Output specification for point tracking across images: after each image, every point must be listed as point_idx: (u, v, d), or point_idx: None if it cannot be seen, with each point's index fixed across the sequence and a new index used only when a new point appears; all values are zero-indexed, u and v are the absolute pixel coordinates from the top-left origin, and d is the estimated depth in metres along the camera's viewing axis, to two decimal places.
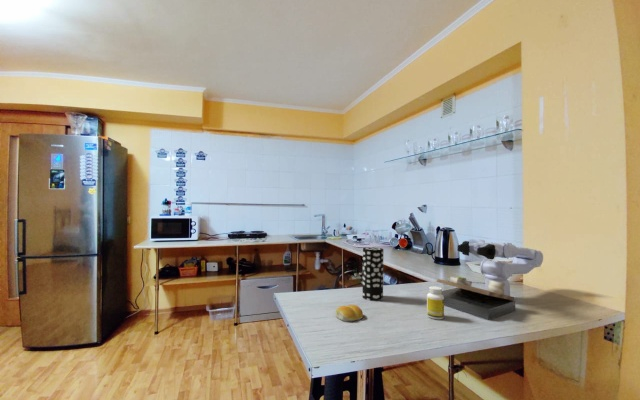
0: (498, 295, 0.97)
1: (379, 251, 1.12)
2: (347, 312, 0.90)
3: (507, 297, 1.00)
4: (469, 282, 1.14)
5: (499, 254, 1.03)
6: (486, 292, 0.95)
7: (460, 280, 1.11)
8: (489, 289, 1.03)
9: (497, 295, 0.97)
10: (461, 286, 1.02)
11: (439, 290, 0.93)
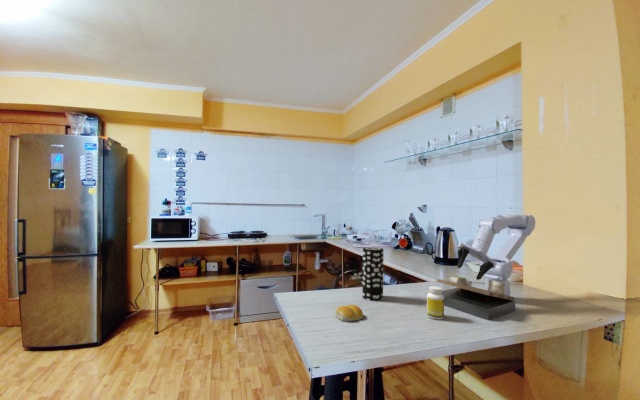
0: (498, 295, 0.97)
1: (379, 251, 1.12)
2: (347, 312, 0.90)
3: (507, 297, 1.00)
4: (469, 282, 1.14)
5: None
6: (486, 292, 0.95)
7: (460, 280, 1.11)
8: (489, 289, 1.03)
9: (497, 295, 0.97)
10: (461, 286, 1.02)
11: (439, 290, 0.93)
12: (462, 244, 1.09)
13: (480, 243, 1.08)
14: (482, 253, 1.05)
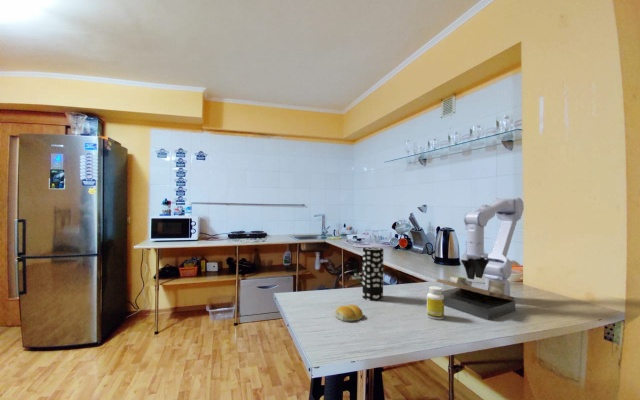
0: (498, 295, 0.97)
1: (379, 251, 1.12)
2: (347, 312, 0.90)
3: (507, 297, 1.00)
4: (469, 282, 1.14)
5: None
6: (486, 292, 0.95)
7: (460, 280, 1.11)
8: (489, 289, 1.03)
9: (497, 295, 0.97)
10: (461, 286, 1.02)
11: (439, 290, 0.93)
12: (467, 257, 1.03)
13: (479, 247, 1.05)
14: (483, 257, 1.05)
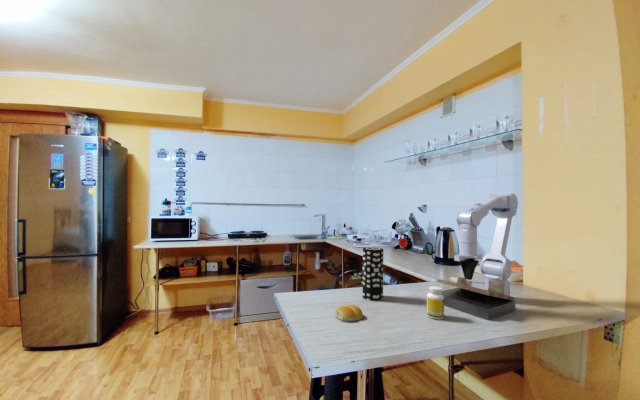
0: (498, 295, 0.97)
1: (379, 251, 1.12)
2: (347, 312, 0.90)
3: (507, 297, 1.00)
4: (469, 282, 1.14)
5: None
6: (486, 292, 0.95)
7: (460, 280, 1.11)
8: (489, 289, 1.03)
9: (497, 295, 0.97)
10: (461, 286, 1.02)
11: (439, 290, 0.93)
12: (460, 257, 1.01)
13: (472, 247, 1.03)
14: (477, 257, 1.03)
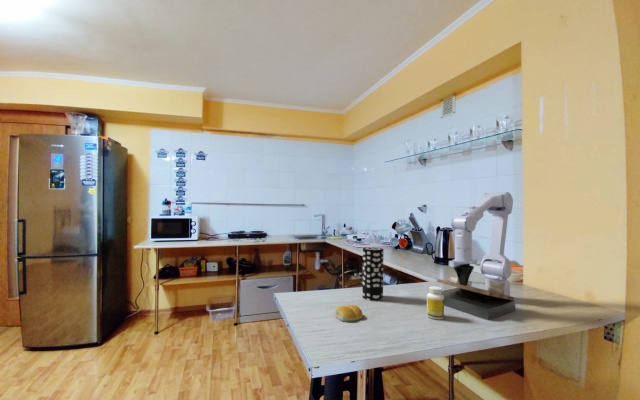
0: (498, 295, 0.97)
1: (379, 251, 1.12)
2: (346, 312, 0.90)
3: (507, 297, 1.00)
4: (469, 282, 1.14)
5: None
6: (486, 292, 0.95)
7: None
8: (489, 289, 1.03)
9: (497, 295, 0.97)
10: (461, 286, 1.02)
11: (439, 290, 0.93)
12: (455, 263, 0.99)
13: (467, 253, 1.01)
14: None
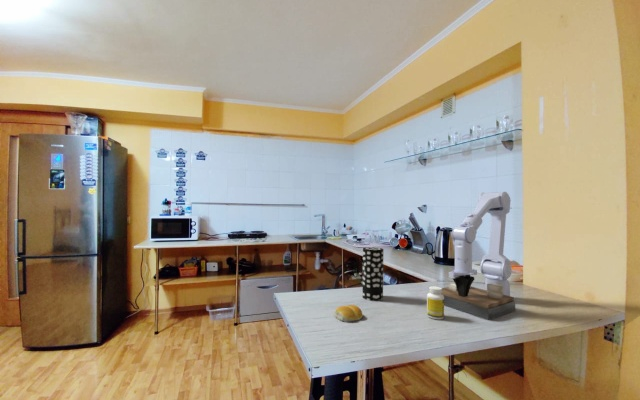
0: (497, 303, 0.97)
1: (379, 251, 1.12)
2: (346, 312, 0.90)
3: (507, 300, 1.00)
4: None
5: None
6: (485, 305, 0.94)
7: None
8: (488, 294, 1.03)
9: (496, 304, 0.96)
10: (460, 298, 1.02)
11: (439, 290, 0.93)
12: (454, 275, 0.99)
13: (467, 264, 1.01)
14: None
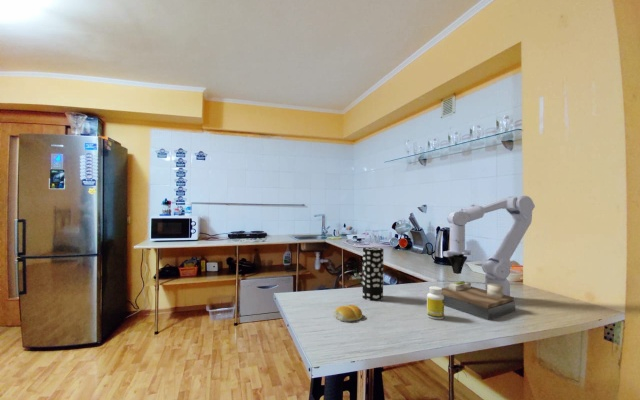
0: (497, 303, 0.97)
1: (379, 251, 1.12)
2: (346, 312, 0.90)
3: (507, 300, 1.00)
4: (468, 284, 1.13)
5: None
6: (485, 305, 0.94)
7: (459, 286, 1.10)
8: (488, 294, 1.03)
9: (496, 304, 0.96)
10: (460, 298, 1.02)
11: (439, 290, 0.93)
12: (448, 253, 1.12)
13: (460, 244, 1.13)
14: (464, 253, 1.13)
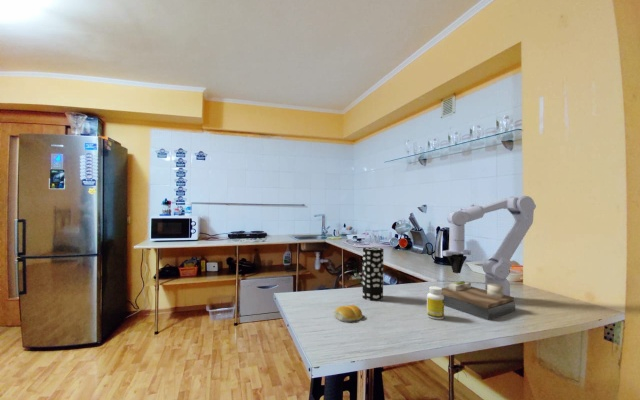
0: (497, 303, 0.97)
1: (379, 251, 1.12)
2: (346, 312, 0.90)
3: (507, 300, 1.00)
4: (468, 284, 1.13)
5: None
6: (485, 305, 0.94)
7: (459, 286, 1.10)
8: (488, 294, 1.03)
9: (496, 304, 0.96)
10: (460, 298, 1.02)
11: (439, 290, 0.93)
12: (447, 253, 1.13)
13: (459, 244, 1.14)
14: None
